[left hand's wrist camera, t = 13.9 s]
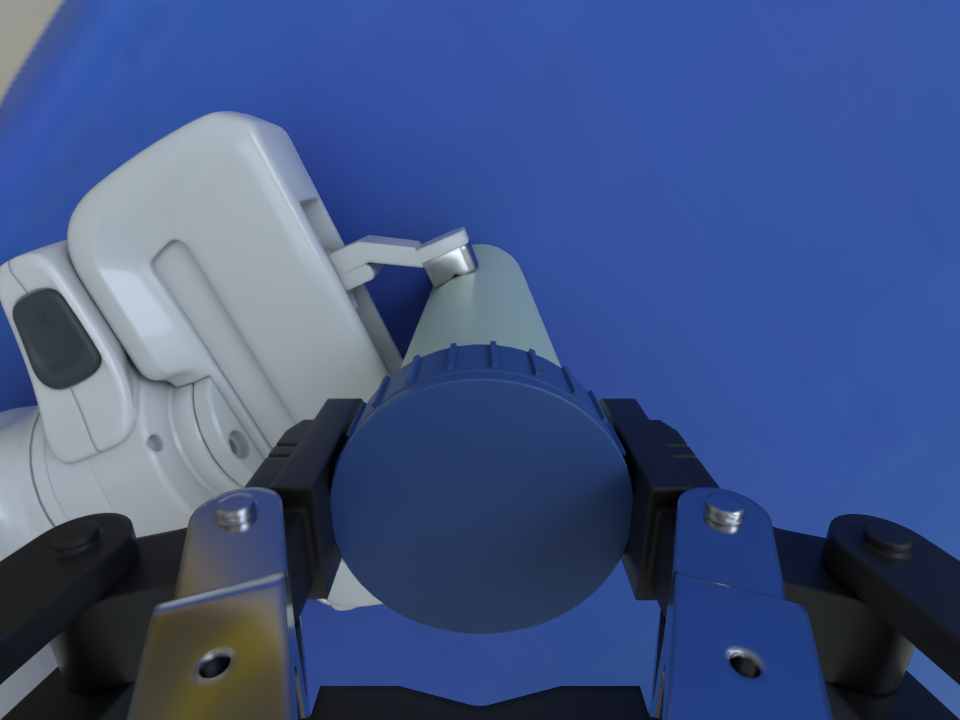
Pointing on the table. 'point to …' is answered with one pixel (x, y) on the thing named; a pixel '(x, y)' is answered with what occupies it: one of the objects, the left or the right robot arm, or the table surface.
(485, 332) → the jar
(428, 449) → the lid
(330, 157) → the table surface
